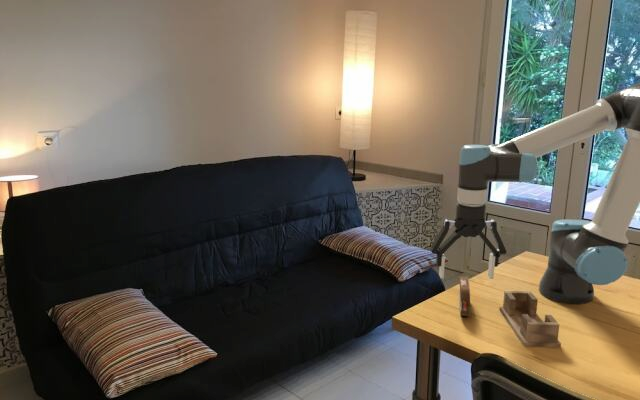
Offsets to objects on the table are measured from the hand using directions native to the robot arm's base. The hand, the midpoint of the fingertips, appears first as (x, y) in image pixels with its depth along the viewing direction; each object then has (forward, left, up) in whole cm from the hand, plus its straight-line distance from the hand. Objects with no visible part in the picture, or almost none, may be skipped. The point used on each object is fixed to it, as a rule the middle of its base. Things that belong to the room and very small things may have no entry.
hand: (465, 277), depth 144 cm
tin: (0, -2, -11) cm, 11 cm away
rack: (-15, +9, -10) cm, 20 cm away
